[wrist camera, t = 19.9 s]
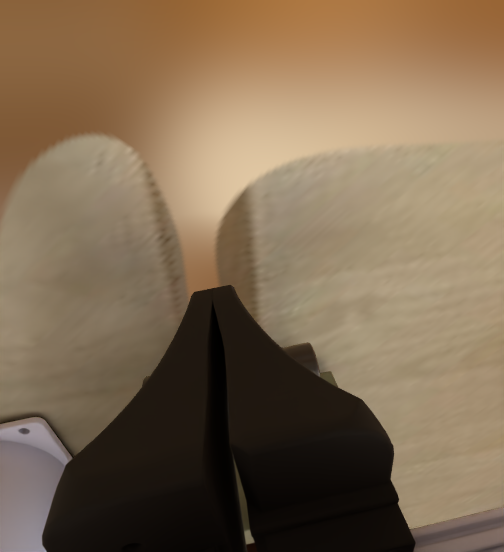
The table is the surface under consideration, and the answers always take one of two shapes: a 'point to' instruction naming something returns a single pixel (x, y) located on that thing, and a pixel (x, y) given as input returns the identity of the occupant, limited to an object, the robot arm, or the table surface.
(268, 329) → the table surface
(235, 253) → the table surface
